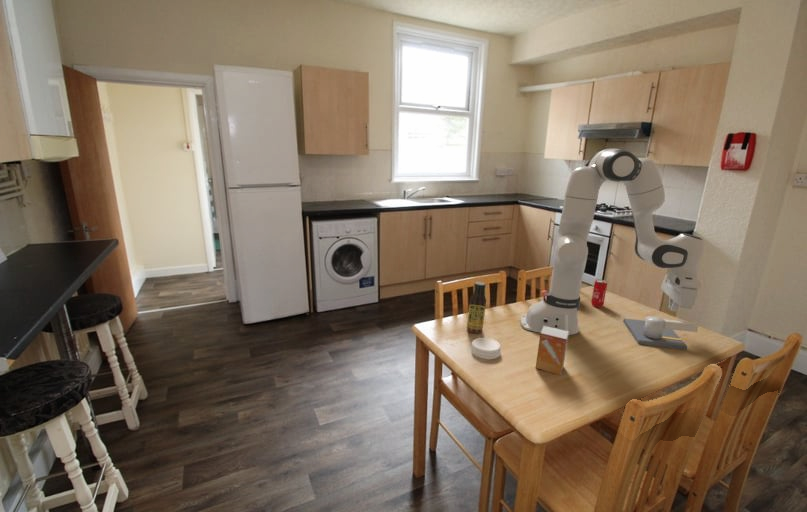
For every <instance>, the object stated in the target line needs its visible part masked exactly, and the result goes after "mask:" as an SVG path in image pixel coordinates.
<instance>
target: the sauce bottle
mask: <svg viewBox="0 0 807 512" xmlns="http://www.w3.org/2000/svg"><path fill="white" fill-rule="evenodd" d="M485 288H486V283H485V282H483V281H475V282H474V291H473V294H472V296H470V298H469V299H470V301H469V306H468V313H467V322H466V329H467V331H468V332H469V333H473V334H478V333H479V334H480V333H481V332H482V331H483V328H484V320H485V314H486V305H487V304H486V303H487V298H486V296H485Z"/></svg>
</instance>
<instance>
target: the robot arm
mask: <svg viewBox="0 0 807 512" xmlns="http://www.w3.org/2000/svg"><path fill="white" fill-rule="evenodd" d="M606 181H610V182H614V183H618V182H623V184H624V186H625V189H626V193H627V194H626V195H627V198H628V200H629V203H630V204H629V205H630V208H631V214H632V221H633V225H634V231H635V244H634V253H635V254H636V256H637V257H638V258H639V259H641V260H644V261H646V262H648V263H650V264H651V265H653V266H655V267H657V268H661V269H668V271H667V273H666V274H665V276H664V277H663V280H662V283H661V288H660V289H661V291H662V292H663V293H664V294H665V295H667V296H668V297H669V298H668V310H670V311H671V312H677V310H678V308H682V309H689V310H690V309H692V308H693V307H694V305H695V303H696V299H697V297H698V290H700V289H701V286H702V283H701V281H700V280H699V277H698V272H699V269H698V268H699V264H700V263H701V261H702V257H703V253H704V247H705V242H704V240H703V238H701V237H699V236H696V235H694V234H689V233H684V232H683V233H679V234H678V235H676V236H675V237H672V238H670V239H661V237H659V236H658V235H657V233H656V231H655V225H654V219H653V212H655V211H658V210H659V209H660V208H661V206H662V205H663V204H664V203H665V198H666V196H665V188H664V184H663V180H662V178H661V175H660V171H659V170H658V167H657V166H656V164H655V161H653V160H652V159H651V158H647V157H637V156H635V155H634V154H633V153H632V152H631V151H629V150H627V149H619V148H616V147H612V148H603V149H600V150H598V151H596V152H595V153H594V154H593V155H592V156H591V158H589V160H588V162H587V163H586V164H585V165H583V166H579V167H577V168H576V167H575V169H573V171H572V172H571V174H570V177H569V179H568V181H567V182H568V183H567V185H566V189H565V194H564V198H563V199H564V200H563V206H562V211H561V216H560V221H559V226H558V230H557V235H556V240H555V250H554V251H555V253H554V260H553V267H552V274H551V280H550V286H549V287H550V288H549V291H547V290H546V289H544V290H542V291H541V294H542V296H543V299H542V300H540V301H538V302H536V303H533V304H532V305H530V306H529V308H528V310H527V312H526V313H525V314H522V315H521V317H520V320H519V323H520V326H521V327H522V329H524V330H526V331H530V332H534V333H540V334H541V331H542V329H543V326H546V327H551V328H556V329H560V330H564V331H569V335H568V336H572V335H573V336H574V335H576V334H578V333H579V331H580V330H579V329H580V328H579V323H578V322H579V321H578V318H579V316H578V313H579V309H580V307H581V297H580V295H581V289H582V282H583V277H584V273H585V270H586V265H587V260H588V255H589V247H588V244H587V243H588V238H589V234H590V231H591V227H592V225H593V222H594V218H595V217H594V216H595V212H596V207H597V202H598V198H599V193H600V192H599V191H600V188H601V187H602V185H603V183H605V182H606Z"/></svg>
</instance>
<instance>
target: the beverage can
mask: <svg viewBox="0 0 807 512" xmlns="http://www.w3.org/2000/svg"><path fill="white" fill-rule="evenodd" d="M607 287H608V282H607V281H606V280H605V279H595V280H594V285H593V288H592V289H593V290H592V295H591V306H593V307H597V308H602V307H603V305H605V304H604V303H605V298H606V292H607Z"/></svg>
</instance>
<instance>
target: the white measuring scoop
mask: <svg viewBox="0 0 807 512" xmlns="http://www.w3.org/2000/svg"><path fill="white" fill-rule="evenodd" d="M645 321H646V322H645V327H644V331H643V334H644V335H645V336H647V337H650V338H654V339H660V338H662V333H663V329H671V330H673V331H680V332H681V331H682V332H692V333H698V329H699V324H698V322H696V321H695V322H694V321H684V320H674V319H666V318H665V319H664V318H661V317H658V316H653V315H649V316H646V317H645Z"/></svg>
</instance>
